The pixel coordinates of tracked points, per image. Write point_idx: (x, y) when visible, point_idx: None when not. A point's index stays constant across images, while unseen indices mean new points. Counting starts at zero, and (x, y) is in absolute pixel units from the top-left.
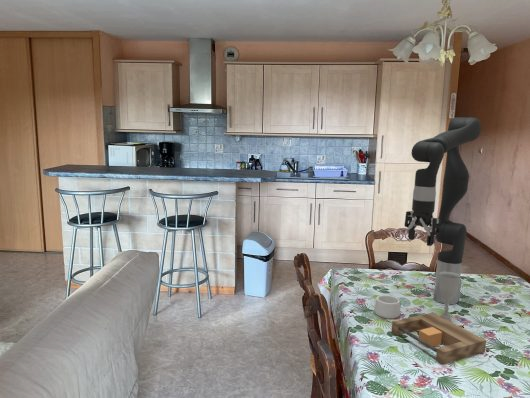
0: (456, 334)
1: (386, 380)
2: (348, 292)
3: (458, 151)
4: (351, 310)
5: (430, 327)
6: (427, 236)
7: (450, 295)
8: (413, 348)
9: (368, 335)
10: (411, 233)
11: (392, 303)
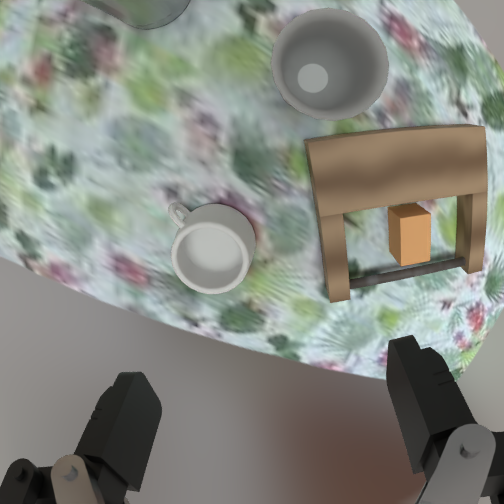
0: (446, 179)
1: (448, 363)
2: (76, 273)
3: None
4: (186, 319)
5: (400, 227)
6: (414, 464)
7: (341, 84)
8: None
9: (322, 339)
10: (141, 455)
11: (246, 265)
